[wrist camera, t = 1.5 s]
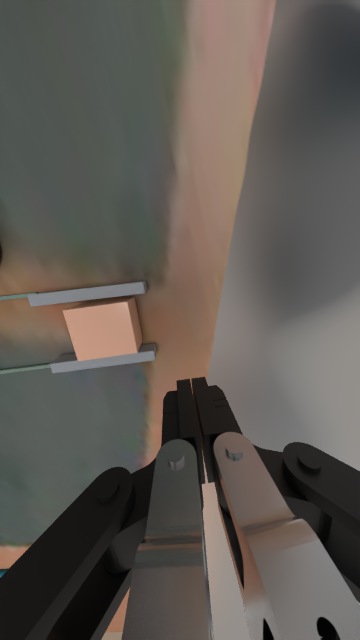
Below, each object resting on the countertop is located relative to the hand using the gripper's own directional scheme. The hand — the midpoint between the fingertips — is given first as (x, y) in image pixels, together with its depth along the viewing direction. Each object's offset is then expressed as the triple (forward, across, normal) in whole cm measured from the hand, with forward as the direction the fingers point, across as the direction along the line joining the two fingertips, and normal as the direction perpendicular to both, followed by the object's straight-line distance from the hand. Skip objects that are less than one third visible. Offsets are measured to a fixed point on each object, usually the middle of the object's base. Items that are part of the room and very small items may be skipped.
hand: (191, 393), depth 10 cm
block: (+19, +10, 0) cm, 22 cm away
